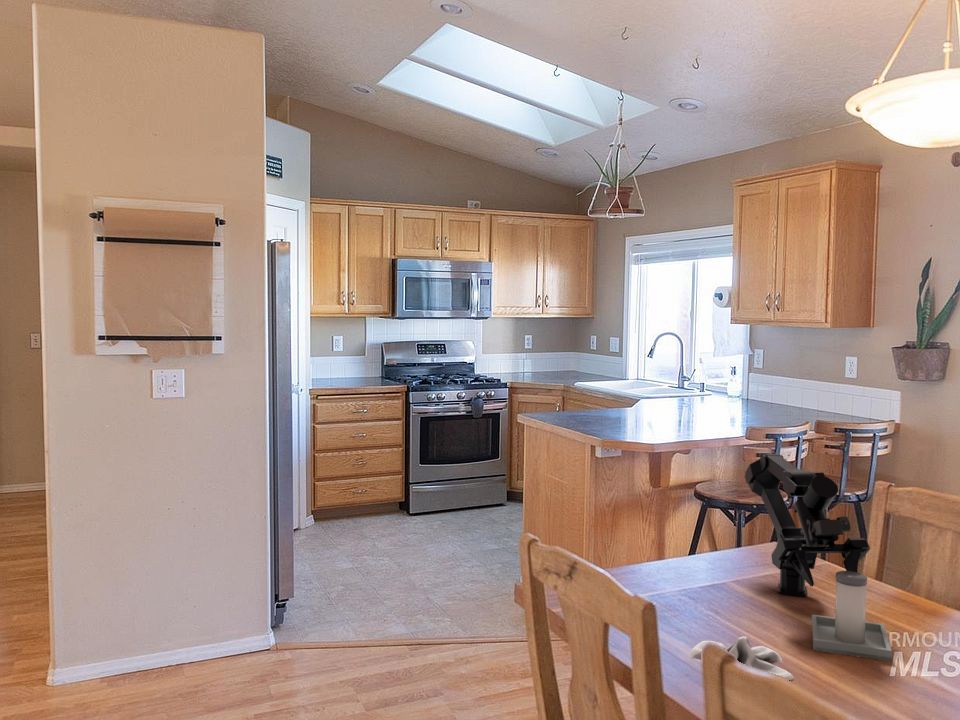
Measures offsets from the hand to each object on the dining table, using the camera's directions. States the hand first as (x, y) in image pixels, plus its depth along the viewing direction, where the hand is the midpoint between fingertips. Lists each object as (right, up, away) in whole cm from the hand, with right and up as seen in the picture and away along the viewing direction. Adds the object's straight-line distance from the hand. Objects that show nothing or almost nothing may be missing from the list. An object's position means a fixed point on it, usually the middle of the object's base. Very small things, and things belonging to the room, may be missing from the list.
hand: (833, 585), depth 167 cm
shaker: (0, -9, -7) cm, 11 cm away
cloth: (-26, -11, -18) cm, 34 cm away
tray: (0, -10, -7) cm, 12 cm away
